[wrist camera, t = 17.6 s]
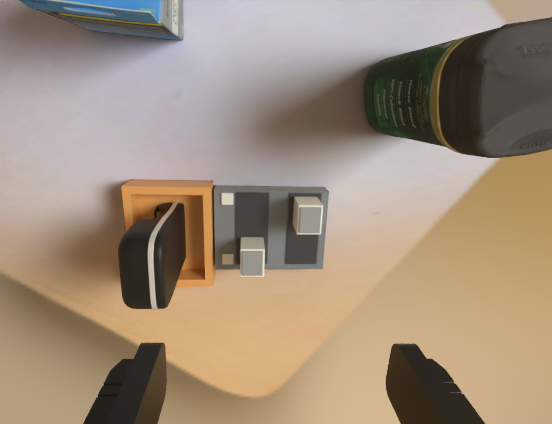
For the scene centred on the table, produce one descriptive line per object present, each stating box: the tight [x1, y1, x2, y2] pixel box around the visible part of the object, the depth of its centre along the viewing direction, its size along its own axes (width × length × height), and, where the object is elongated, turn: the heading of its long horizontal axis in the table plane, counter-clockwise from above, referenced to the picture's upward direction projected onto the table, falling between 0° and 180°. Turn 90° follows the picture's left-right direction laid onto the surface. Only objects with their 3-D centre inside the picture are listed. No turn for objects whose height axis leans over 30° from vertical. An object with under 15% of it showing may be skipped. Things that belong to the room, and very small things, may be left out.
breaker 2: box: [293, 196, 323, 235], centre depth 36 cm, size 2×3×3 cm
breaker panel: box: [214, 186, 329, 269], centre depth 39 cm, size 12×9×2 cm
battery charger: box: [118, 202, 186, 310], centre depth 33 cm, size 7×4×11 cm, turn 177°
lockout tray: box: [121, 180, 215, 287], centre depth 38 cm, size 9×11×3 cm
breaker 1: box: [240, 237, 265, 277], centre depth 37 cm, size 2×3×3 cm
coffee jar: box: [365, 17, 552, 158], centre depth 28 cm, size 10×8×19 cm
